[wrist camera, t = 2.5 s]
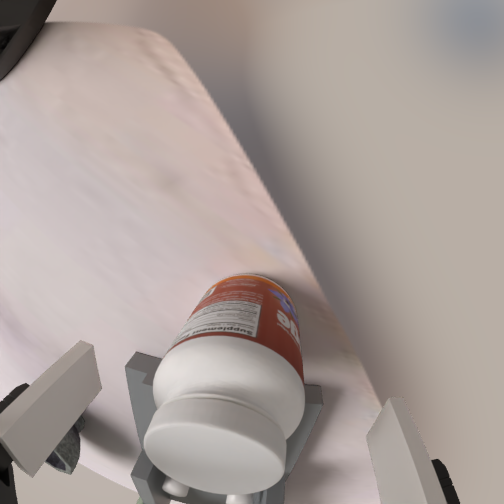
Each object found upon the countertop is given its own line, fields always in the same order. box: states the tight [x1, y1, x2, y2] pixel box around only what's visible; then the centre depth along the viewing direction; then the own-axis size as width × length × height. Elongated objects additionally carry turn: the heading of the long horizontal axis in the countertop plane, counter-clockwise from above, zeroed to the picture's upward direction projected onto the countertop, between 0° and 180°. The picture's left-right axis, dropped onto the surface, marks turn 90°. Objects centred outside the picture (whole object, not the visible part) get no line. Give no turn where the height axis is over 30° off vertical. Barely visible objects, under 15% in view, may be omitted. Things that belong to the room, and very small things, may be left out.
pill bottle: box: [144, 274, 305, 495], centre depth 12 cm, size 6×6×11 cm
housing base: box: [125, 352, 323, 504], centre depth 19 cm, size 24×14×6 cm, turn 172°
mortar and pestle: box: [45, 416, 85, 474], centre depth 18 cm, size 11×9×12 cm
